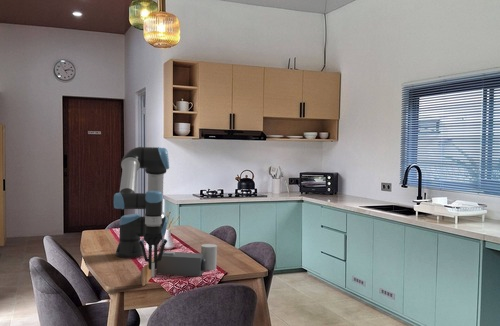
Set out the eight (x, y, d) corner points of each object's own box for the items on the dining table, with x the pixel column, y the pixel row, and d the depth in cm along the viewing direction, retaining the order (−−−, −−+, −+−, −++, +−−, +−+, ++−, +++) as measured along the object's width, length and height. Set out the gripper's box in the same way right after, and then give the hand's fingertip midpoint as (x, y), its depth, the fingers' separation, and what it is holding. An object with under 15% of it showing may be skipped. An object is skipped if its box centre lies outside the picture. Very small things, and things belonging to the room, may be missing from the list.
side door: (152, 272, 232) (152, 256, 232) (155, 272, 232) (155, 256, 232) (140, 285, 210) (140, 267, 210) (144, 285, 210) (144, 268, 210)
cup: (200, 266, 249) (201, 243, 249) (216, 266, 250) (216, 244, 249) (200, 270, 241) (201, 247, 241) (216, 270, 242) (217, 247, 241)
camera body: (156, 273, 232) (156, 254, 232) (162, 268, 242) (162, 249, 242) (203, 276, 229) (203, 256, 229) (207, 271, 239) (207, 252, 239)
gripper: (139, 226, 209) (138, 279, 210) (168, 225, 213) (167, 277, 214) (138, 224, 216) (137, 274, 217) (166, 223, 220) (165, 273, 221)
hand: (152, 276), depth 215 cm, fingers closed
